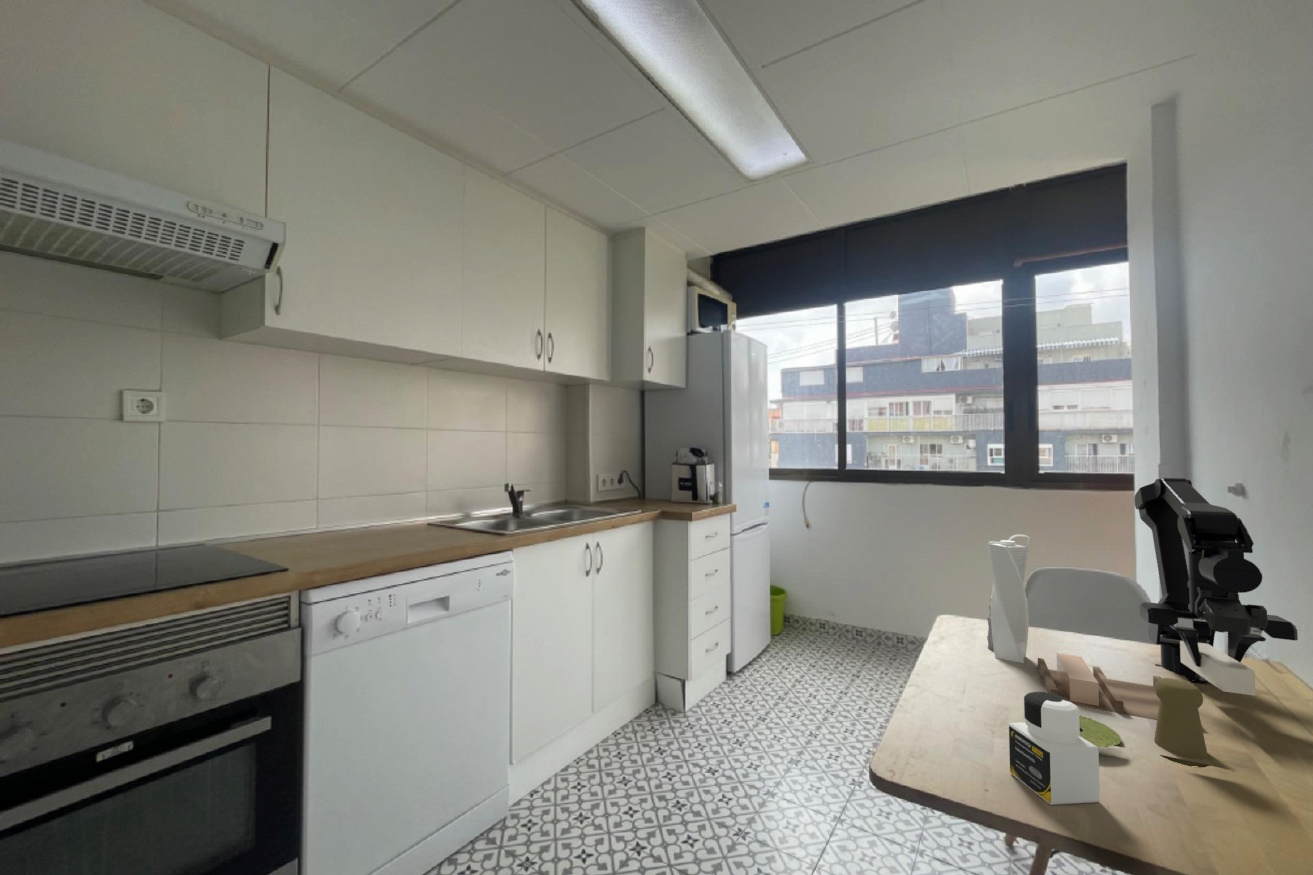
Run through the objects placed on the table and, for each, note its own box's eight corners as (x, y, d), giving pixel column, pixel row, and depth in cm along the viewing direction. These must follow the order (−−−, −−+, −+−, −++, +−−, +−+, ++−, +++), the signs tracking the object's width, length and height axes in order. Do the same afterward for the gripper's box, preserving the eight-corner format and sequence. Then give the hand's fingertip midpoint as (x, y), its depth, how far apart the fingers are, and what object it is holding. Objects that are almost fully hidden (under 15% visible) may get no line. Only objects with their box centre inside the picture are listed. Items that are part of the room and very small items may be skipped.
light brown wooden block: (1057, 672, 107) (1056, 652, 107) (1082, 677, 105) (1081, 656, 105) (1070, 700, 95) (1069, 677, 95) (1098, 705, 93) (1098, 682, 93)
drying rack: (1038, 673, 110) (1037, 657, 110) (1160, 693, 100) (1160, 676, 100) (1051, 706, 95) (1050, 688, 95) (1196, 734, 85) (1195, 714, 86)
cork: (1221, 769, 76) (1218, 691, 76) (1172, 764, 77) (1169, 688, 77) (1188, 747, 82) (1185, 674, 82) (1143, 742, 83) (1140, 671, 83)
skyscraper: (1032, 659, 117) (1029, 532, 118) (1034, 672, 110) (1031, 537, 111) (987, 652, 121) (984, 530, 122) (987, 663, 114) (984, 534, 116)
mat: (1015, 729, 87) (1015, 717, 87) (1057, 716, 91) (1057, 704, 91) (1094, 766, 77) (1094, 752, 77) (1137, 749, 81) (1137, 736, 81)
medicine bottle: (1008, 773, 75) (1006, 687, 75) (1055, 770, 75) (1053, 685, 76) (1050, 806, 68) (1047, 711, 68) (1101, 803, 68) (1098, 709, 69)
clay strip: (1180, 661, 101) (1179, 640, 101) (1208, 665, 100) (1207, 643, 100) (1222, 691, 88) (1221, 667, 89) (1255, 695, 87) (1254, 670, 87)
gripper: (1157, 583, 92) (1160, 673, 92) (1315, 597, 83) (1319, 698, 83) (1137, 571, 102) (1140, 653, 101) (1277, 583, 93) (1281, 672, 92)
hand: (1214, 668), depth 94 cm, fingers closed on clay strip, 4 cm apart
